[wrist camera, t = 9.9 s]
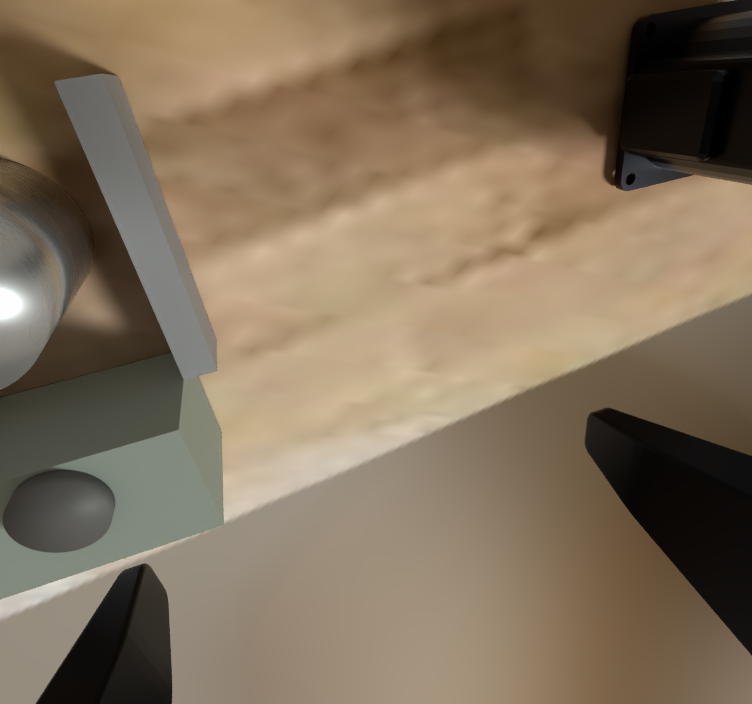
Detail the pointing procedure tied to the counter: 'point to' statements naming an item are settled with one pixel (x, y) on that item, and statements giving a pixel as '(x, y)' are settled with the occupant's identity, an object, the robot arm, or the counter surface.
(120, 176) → the grey u-shaped bracket
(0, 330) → the bottle
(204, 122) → the counter surface
